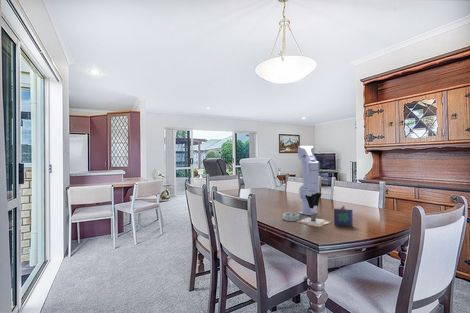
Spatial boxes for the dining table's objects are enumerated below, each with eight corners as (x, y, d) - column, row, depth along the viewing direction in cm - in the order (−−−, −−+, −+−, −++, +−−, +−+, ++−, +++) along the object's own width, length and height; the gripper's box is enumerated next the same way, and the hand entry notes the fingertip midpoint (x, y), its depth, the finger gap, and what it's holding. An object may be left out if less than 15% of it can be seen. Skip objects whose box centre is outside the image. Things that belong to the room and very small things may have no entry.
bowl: (290, 216, 155) (289, 212, 155) (302, 219, 148) (302, 214, 148) (280, 219, 149) (280, 214, 149) (292, 222, 142) (292, 217, 142)
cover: (308, 218, 148) (307, 211, 148) (325, 220, 142) (325, 213, 142) (301, 222, 140) (301, 214, 140) (319, 225, 134) (319, 217, 134)
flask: (352, 225, 134) (352, 205, 134) (353, 227, 131) (353, 206, 131) (333, 224, 136) (333, 204, 136) (334, 225, 134) (334, 205, 133)
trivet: (310, 217, 151) (310, 217, 151) (332, 222, 140) (332, 221, 140) (296, 222, 142) (296, 221, 142) (317, 227, 131) (317, 226, 131)
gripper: (311, 181, 149) (311, 203, 149) (301, 183, 137) (302, 208, 137) (323, 181, 145) (323, 205, 145) (314, 184, 133) (314, 210, 133)
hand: (313, 206), depth 141 cm, fingers open, 7 cm apart
